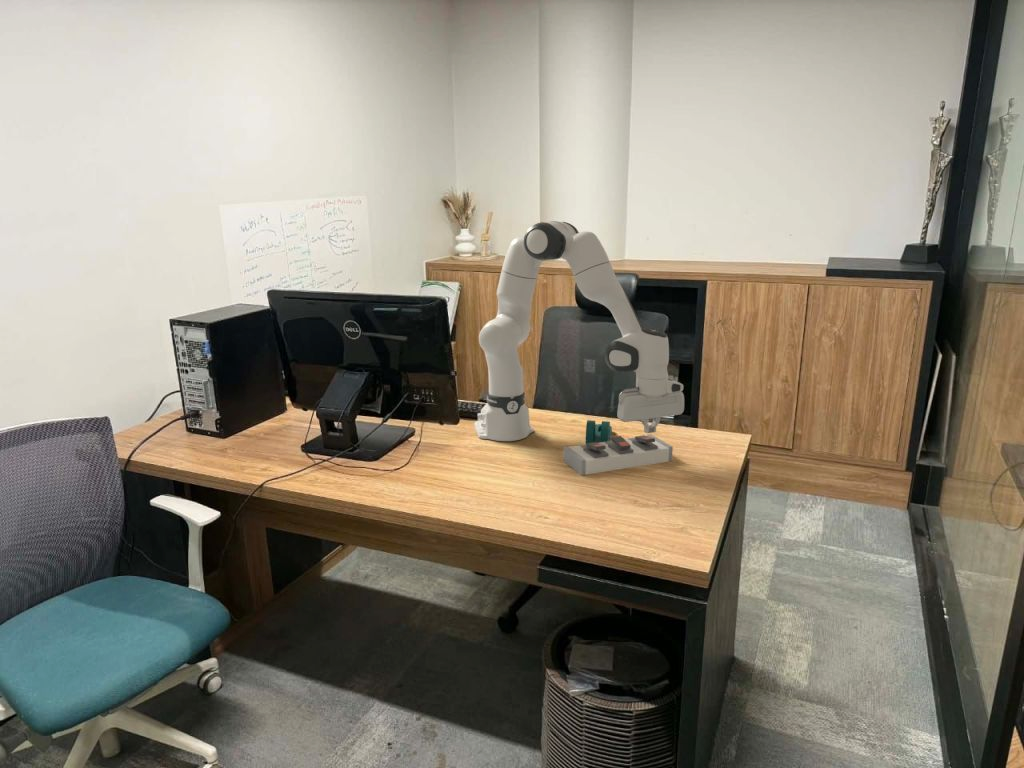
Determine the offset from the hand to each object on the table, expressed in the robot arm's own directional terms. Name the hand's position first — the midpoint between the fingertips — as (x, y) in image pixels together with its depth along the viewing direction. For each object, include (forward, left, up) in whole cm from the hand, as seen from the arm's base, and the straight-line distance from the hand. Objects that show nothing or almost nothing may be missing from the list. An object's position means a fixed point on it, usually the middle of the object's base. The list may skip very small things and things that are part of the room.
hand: (650, 432), depth 201 cm
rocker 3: (-2, 0, -3) cm, 4 cm away
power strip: (-4, -8, -9) cm, 13 cm away
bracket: (-23, -4, -9) cm, 25 cm away
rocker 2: (-2, -8, -3) cm, 9 cm away
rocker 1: (-2, -16, -3) cm, 17 cm away
